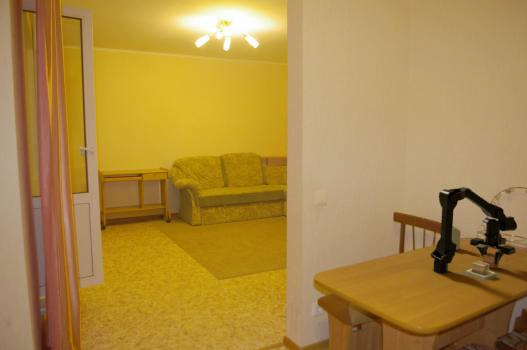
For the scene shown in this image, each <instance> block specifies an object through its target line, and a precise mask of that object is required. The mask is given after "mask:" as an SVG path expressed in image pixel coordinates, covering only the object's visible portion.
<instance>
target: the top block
mask: <svg viewBox="0 0 527 350" xmlns="http://www.w3.org/2000/svg"><path fill="white" fill-rule="evenodd" d="M482 262H484V263H488V264H489V268H491V269H494V268H497V267H499V266H500V262H499V263H498V265H496V264H495V253H492V252H487V254H484V255H483V257H482Z"/></svg>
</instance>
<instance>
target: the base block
mask: <svg viewBox="0 0 527 350" xmlns="http://www.w3.org/2000/svg"><path fill="white" fill-rule="evenodd" d="M471 268H472V272H473V273H476V274H479V275H482V276H485V275H487V274H489V271H490V267H489V264H488V263H484V262H483V261H481V260H477V261H473V262H472V265H471Z"/></svg>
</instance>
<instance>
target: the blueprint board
mask: <svg viewBox="0 0 527 350" xmlns="http://www.w3.org/2000/svg"><path fill="white" fill-rule="evenodd" d="M460 274H463V275H467V276H469V277H472V278H475V279H478V280H481V281H484V282H488V281H490V280H492V279H495V278H497V277H500V276H501V274H499V273H496V272H494V271H491V270H489V274H487V275H485V276H482V275H479V274H476V273H473V272H472V267H471V268H469V269H466V270H463V271H461V272H460Z"/></svg>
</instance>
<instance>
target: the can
mask: <svg viewBox="0 0 527 350" xmlns="http://www.w3.org/2000/svg"><path fill="white" fill-rule="evenodd" d="M461 233H462V232H461V230H460V228H459V227H455V226H453V228H452V242H453V243H455V244H456V245H457V247H456V251H459V249H460V247H461Z"/></svg>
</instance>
